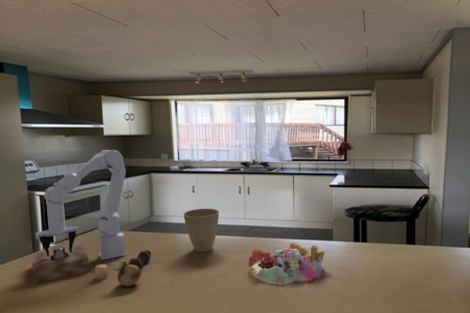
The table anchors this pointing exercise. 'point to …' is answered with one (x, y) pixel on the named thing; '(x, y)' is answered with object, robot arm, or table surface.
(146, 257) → the dark brown lumpy piece
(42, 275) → the hole block
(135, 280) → the onion
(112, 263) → the table surface
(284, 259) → the candy landscape model
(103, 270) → the pinkish tan rounded piece
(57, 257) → the dark metallic cylinder
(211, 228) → the plant pot
